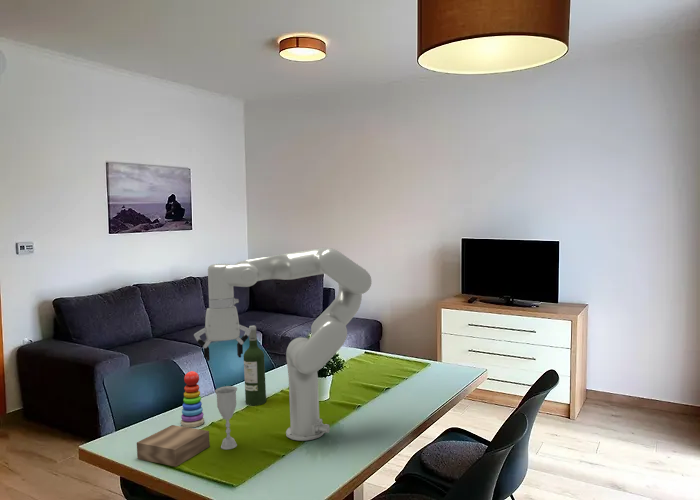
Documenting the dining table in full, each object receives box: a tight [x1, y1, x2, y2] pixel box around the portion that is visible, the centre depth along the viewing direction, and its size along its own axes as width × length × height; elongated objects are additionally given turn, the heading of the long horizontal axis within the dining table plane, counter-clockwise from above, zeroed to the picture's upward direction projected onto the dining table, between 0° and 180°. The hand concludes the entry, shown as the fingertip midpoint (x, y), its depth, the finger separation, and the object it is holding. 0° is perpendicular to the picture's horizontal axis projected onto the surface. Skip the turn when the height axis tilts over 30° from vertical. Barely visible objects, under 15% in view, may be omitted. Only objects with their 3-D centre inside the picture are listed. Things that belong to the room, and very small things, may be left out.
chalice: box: [214, 385, 238, 450], centre depth 172 cm, size 7×7×18 cm
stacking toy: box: [180, 370, 205, 428], centre depth 192 cm, size 8×8×19 cm
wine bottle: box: [243, 325, 267, 407], centre depth 212 cm, size 8×8×30 cm
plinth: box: [136, 424, 211, 468], centre depth 168 cm, size 15×15×5 cm
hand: (223, 358), depth 170 cm, fingers open, 9 cm apart
